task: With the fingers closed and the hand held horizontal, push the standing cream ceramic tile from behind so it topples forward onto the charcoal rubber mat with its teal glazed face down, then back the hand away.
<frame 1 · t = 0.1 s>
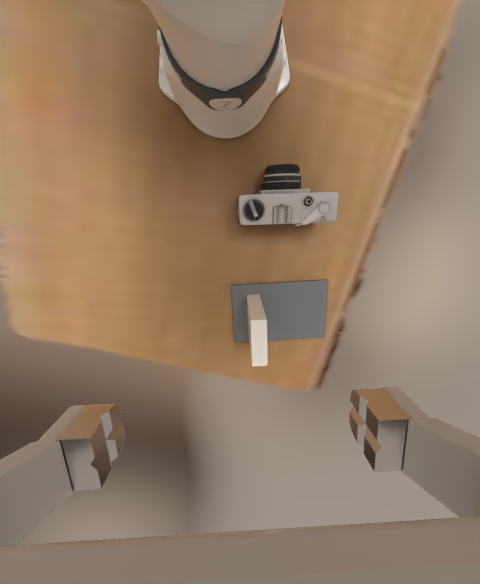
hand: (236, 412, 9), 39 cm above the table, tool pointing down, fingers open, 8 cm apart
camera: (278, 197, 44), on the table
tile: (253, 314, 50), resting on mat
mat: (279, 311, 50), on the table
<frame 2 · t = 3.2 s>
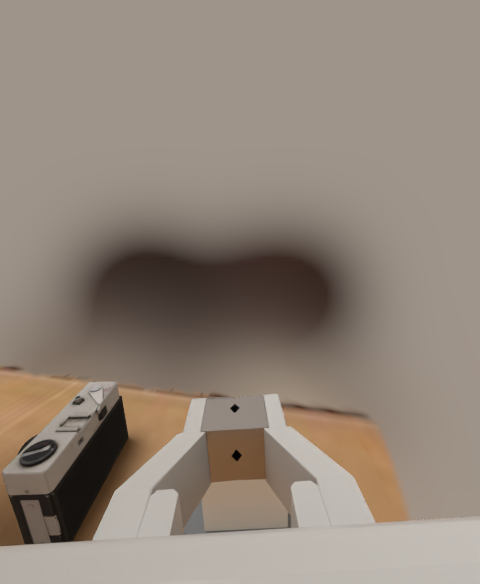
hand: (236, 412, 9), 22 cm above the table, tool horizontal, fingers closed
camera: (76, 483, 31), on the table
tile: (245, 515, 26), resting on mat
mat: (244, 473, 31), on the table
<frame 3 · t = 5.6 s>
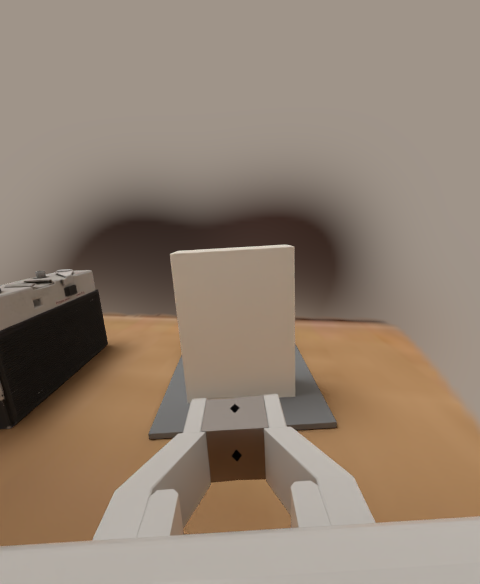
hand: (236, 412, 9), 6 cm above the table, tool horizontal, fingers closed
camera: (38, 378, 25), on the table
tile: (241, 390, 20), resting on mat
mat: (240, 363, 25), on the table
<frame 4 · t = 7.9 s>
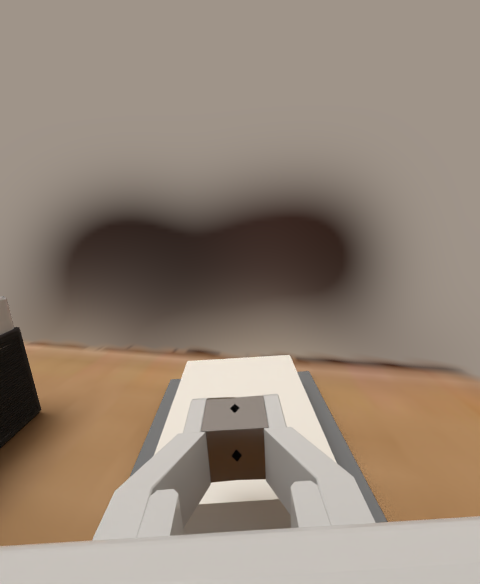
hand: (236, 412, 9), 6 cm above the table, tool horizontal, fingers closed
tile: (244, 526, 10), point 2 cm above the table, tilted 90°, touching mat
mat: (243, 473, 14), on the table
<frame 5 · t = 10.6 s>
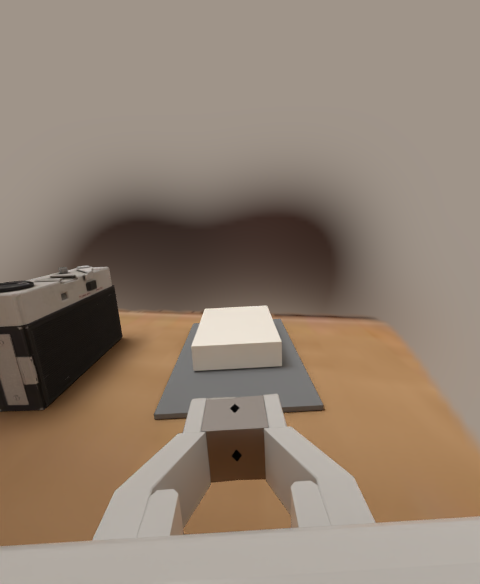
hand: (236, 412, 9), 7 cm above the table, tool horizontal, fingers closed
camera: (61, 367, 27), on the table
tile: (237, 356, 23), point 2 cm above the table, tilted 90°, touching mat
mat: (237, 354, 27), on the table
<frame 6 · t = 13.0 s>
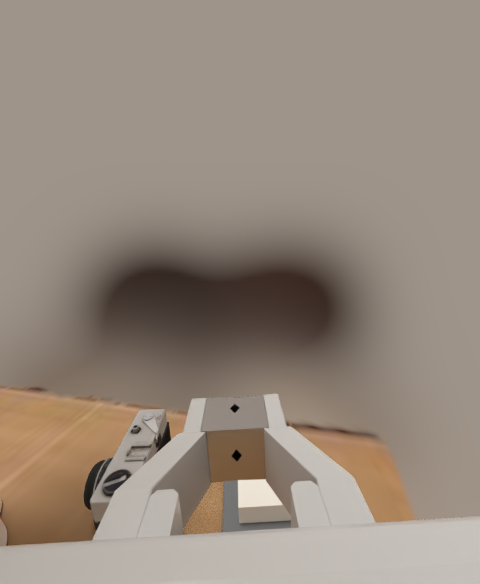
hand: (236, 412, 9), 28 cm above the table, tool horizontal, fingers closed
camera: (134, 505, 34), on the table
tile: (273, 513, 30), point 2 cm above the table, tilted 90°, touching mat
mat: (269, 493, 34), on the table
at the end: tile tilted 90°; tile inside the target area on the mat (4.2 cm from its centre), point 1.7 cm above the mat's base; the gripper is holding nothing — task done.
